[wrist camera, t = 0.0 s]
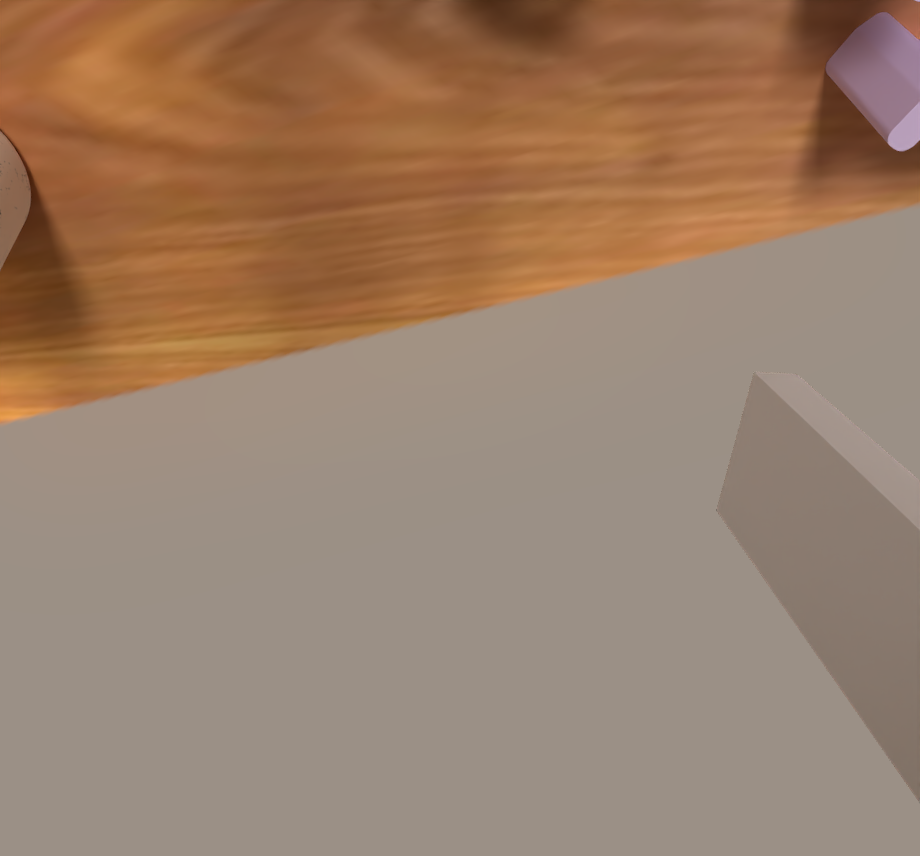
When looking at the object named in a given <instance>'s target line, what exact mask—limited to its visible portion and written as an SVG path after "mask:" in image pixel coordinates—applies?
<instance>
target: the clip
mask: <svg viewBox="0 0 920 856" xmlns="http://www.w3.org/2000/svg"><path fill="white" fill-rule="evenodd" d="M915 1H918V2H920V0H915ZM825 70H826V73H827V74H828V76H829V77H830V78H831V79H832V80H833V81H834V82H835V84H836V85H837V86H838V87H839V88H840V89H841V90H842V92H843V93H844V94H845V95H846V96H847V97H848V98H849V100H850V101H851V102H852V103H853V104H854V105H855V106H856V108H857V109H858V110H859V111H860V112H861V113H862V114H863V116H864V117H865V118H866V119H867V120H868V121H869V122H870V124H871V125H872V126H873V127H874V128H875V129H876V131H877V132H878V133H879V134H880V135H881V136H882V137H883V139H884V140H885V141H886V142H887V143H888V144H889V145H890V146H891V147H892V148H894V149H895V150H897V151H905V150H908V149H910V148H912V147H913V146H914V145H915V144H916V143H917V142H918V141H919V140H920V40H919V39H917V38H916V37H915V36H913V35H912V34H911V33H910V32H909V31H908V30H907V29H906V28H905V27H903V26H902V25H901V24H900V23H899V22H898V21H897V20H896V19H894V18H893V17H892V16H891V15H890V14H889V13H887V12H880V13H878V14H876V15H874V16H873V17H871V18H870V19H869V20H867V21H866V22H864V23H863V24H862V25H860V26H859V27H857V28H856V29H855V30H854V31H853V32H852V34H851V35H850V36H849V37H848V38H847V39H846V40H845V42H844V43H843V44H842V45H841V46H840V47H839V49H838V50H837V51H836V52H835V53H834V54H833V56H832V57H831V58H830V59H829V60H828V62H827V64H826V69H825Z"/></svg>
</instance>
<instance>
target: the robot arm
mask: <svg viewBox="0 0 920 856" xmlns="http://www.w3.org/2000/svg"><path fill="white" fill-rule="evenodd" d="M716 511H717V512H718V514H719V515H720V516H721V518H722V519H723V521H724V522H725V524H726V525H727V527H728V528H729V529H730V531H731V532H732V534H733V535H734V537H735V538H736V539H737V541H738V542H739V544H740V545H741V547H742V548H743V550H744V551H745V552H746V554H747V555H748V557H749V558H750V560H751V561H752V563H753V564H754V565H755V567H756V568H757V570H758V571H759V572H760V574H761V575H762V577H763V578H764V580H765V581H766V583H767V584H768V585H769V587H770V588H771V590H772V591H773V593H774V594H775V595H776V597H777V598H778V600H779V601H780V603H781V604H782V606H783V607H784V608H785V610H786V611H787V613H788V614H789V616H790V617H791V619H792V620H793V621H794V623H795V624H796V626H797V627H798V628H799V630H800V631H801V633H802V634H803V636H804V637H805V639H806V640H807V641H808V643H809V644H810V646H811V647H812V649H813V650H814V652H815V653H816V654H817V656H818V657H819V659H820V660H821V662H822V663H823V665H824V666H825V667H826V669H827V670H828V672H829V673H830V675H831V676H832V677H833V679H834V680H835V682H836V683H837V685H838V686H839V687H840V689H841V690H842V692H843V693H844V695H845V696H846V697H847V699H848V700H849V702H850V703H851V705H852V706H853V708H854V709H855V711H856V712H857V713H858V715H859V716H860V718H861V719H862V721H863V722H864V723H865V725H866V726H867V728H868V729H869V731H870V732H871V734H872V735H873V736H874V738H875V739H876V740H877V742H878V744H879V745H880V746H881V748H882V749H883V751H884V752H885V753H886V755H887V756H888V758H889V759H890V760H891V762H892V764H893V765H894V767H895V768H896V769H897V771H898V772H899V774H900V775H901V777H902V778H903V779H904V781H905V782H906V784H907V785H908V787H909V788H910V790H911V791H912V792H913V794H914V795H915V797H916V798H917V800H918V801H919V802H920V480H918V479H917V478H916V477H915V476H914V475H912V474H911V473H910V472H909V471H908V470H907V469H906V468H905V467H903V466H902V465H901V464H900V463H899V462H898V461H897V460H895V459H894V458H893V457H892V456H891V455H890V454H888V453H887V452H886V451H885V450H884V449H883V448H882V447H880V446H879V445H878V444H877V443H876V442H875V441H873V440H872V439H871V438H870V437H869V436H868V435H867V434H865V433H864V432H863V431H862V430H861V429H859V428H858V427H857V426H856V425H855V424H854V423H853V422H851V421H850V420H849V419H848V418H847V417H846V416H845V415H843V414H842V413H841V412H840V411H839V410H838V409H836V408H835V407H834V406H833V405H832V404H831V403H830V402H828V401H827V400H826V399H825V398H824V397H823V396H821V395H820V394H819V393H818V392H817V391H816V390H815V389H813V388H812V387H811V386H810V385H809V384H807V383H806V382H805V381H804V380H803V379H802V378H801V377H799V376H798V375H797V374H788V373H767V372H754V373H753V377H752V381H751V385H750V388H749V392H748V396H747V399H746V403H745V407H744V411H743V414H742V418H741V421H740V425H739V429H738V433H737V436H736V440H735V444H734V447H733V451H732V454H731V458H730V462H729V465H728V469H727V473H726V477H725V480H724V484H723V488H722V491H721V495H720V498H719V502H718V506H717V509H716Z"/></svg>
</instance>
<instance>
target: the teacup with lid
mask: <svg viewBox="0 0 920 856" xmlns="http://www.w3.org/2000/svg"><path fill="white" fill-rule="evenodd" d="M30 204H31V189H30V183H29V179H28V175H27V172H26V169H25V167H24V164H23V162H22V160H21V158H20V156H19V155H18V153H17V151H16V150H15V148H14V147H13V145H12V144H11V143H10V141H9V140H8V139H7V137H6V136H5V135H4V134H3V133H2V132H1V131H0V270H1V268H2V266H3V264H4V262H5V260H6V258H7V256H8V254H9V252H10V250H11V248H12V246H13V244H14V243H15V241H16V239H17V237H18V235H19V233H20V231H21V229H22V227H23V225H24V223H25V221H26V219H27V216H28V213H29V209H30Z"/></svg>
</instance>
